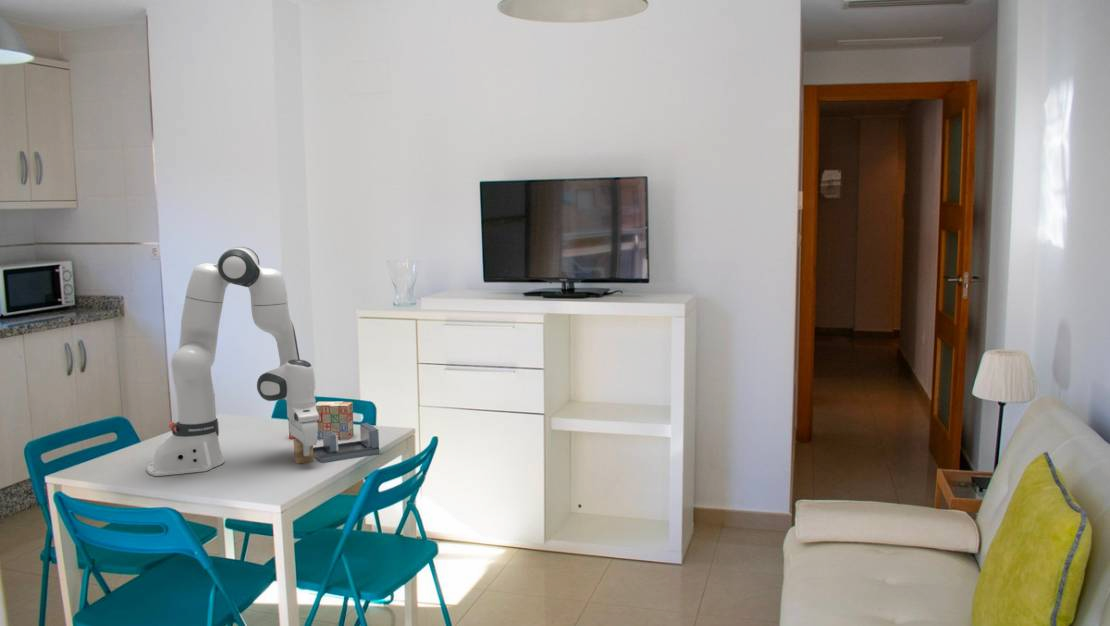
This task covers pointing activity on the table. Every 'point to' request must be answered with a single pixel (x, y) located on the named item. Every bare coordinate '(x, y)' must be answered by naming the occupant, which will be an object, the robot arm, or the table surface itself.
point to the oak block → (299, 453)
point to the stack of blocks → (334, 419)
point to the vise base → (352, 446)
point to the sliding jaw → (330, 441)
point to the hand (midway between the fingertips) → (303, 453)
